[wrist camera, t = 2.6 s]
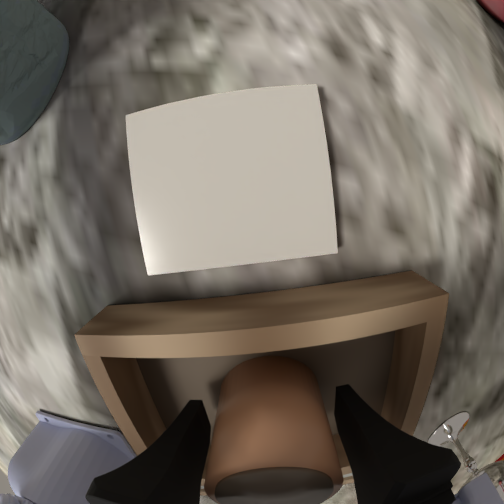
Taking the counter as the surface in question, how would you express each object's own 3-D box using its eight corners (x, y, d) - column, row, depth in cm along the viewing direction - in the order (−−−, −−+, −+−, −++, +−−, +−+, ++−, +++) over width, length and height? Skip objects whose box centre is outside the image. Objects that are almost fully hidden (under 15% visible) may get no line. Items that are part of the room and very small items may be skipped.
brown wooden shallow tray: (166, 446, 15) (156, 480, 12) (107, 305, 12) (74, 334, 9) (387, 424, 14) (403, 457, 11) (411, 270, 12) (449, 293, 9)
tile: (152, 271, 12) (147, 275, 11) (131, 118, 10) (125, 115, 10) (333, 249, 12) (337, 252, 11) (313, 88, 10) (316, 84, 9)
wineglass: (453, 403, 14) (524, 509, 2) (483, 406, 14) (544, 488, 3) (407, 453, 15) (452, 558, 4) (444, 451, 16) (487, 535, 4)
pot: (229, 427, 13) (219, 518, 7) (211, 360, 12) (185, 467, 6) (318, 418, 13) (337, 509, 7) (318, 348, 12) (353, 454, 6)
